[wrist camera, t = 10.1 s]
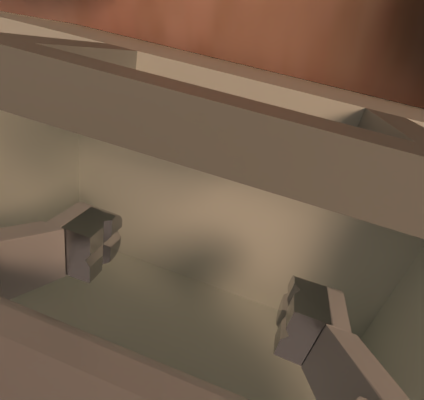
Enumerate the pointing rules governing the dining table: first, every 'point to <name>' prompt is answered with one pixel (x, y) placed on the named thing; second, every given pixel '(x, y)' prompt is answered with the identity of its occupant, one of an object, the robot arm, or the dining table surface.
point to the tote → (214, 200)
